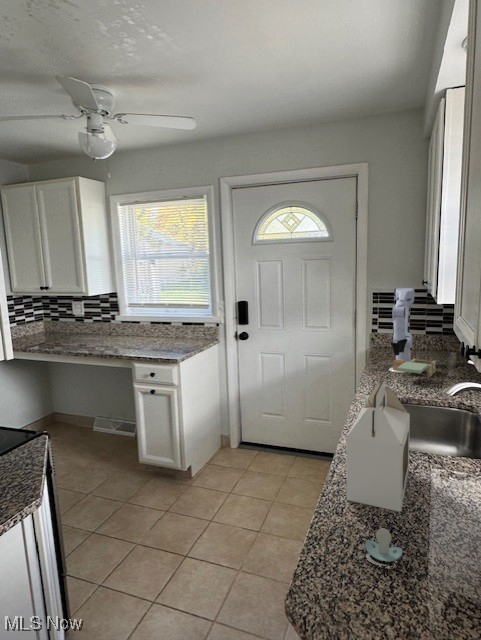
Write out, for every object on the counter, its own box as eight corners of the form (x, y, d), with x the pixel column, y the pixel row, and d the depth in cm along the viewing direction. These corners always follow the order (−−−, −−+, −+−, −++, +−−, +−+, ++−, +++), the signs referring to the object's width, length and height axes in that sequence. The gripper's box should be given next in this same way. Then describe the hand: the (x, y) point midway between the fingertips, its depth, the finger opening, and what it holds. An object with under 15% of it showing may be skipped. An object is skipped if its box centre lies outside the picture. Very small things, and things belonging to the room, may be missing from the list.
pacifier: (399, 576, 80) (403, 555, 86) (400, 548, 79) (403, 528, 85) (361, 564, 84) (367, 545, 89) (361, 537, 83) (367, 519, 88)
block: (396, 367, 226) (396, 359, 225) (405, 369, 223) (405, 360, 222) (392, 370, 222) (393, 361, 221) (402, 371, 219) (402, 362, 218)
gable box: (362, 462, 125) (362, 373, 121) (408, 470, 119) (410, 377, 115) (346, 500, 106) (345, 396, 102) (400, 513, 100) (402, 402, 96)
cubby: (414, 369, 224) (414, 358, 223) (435, 371, 217) (436, 360, 217) (406, 374, 214) (406, 363, 213) (429, 377, 207) (429, 366, 206)
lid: (405, 364, 212) (405, 361, 212) (428, 366, 205) (428, 364, 205) (397, 370, 201) (397, 367, 201) (420, 373, 194) (420, 370, 194)
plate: (392, 367, 230) (392, 366, 229) (411, 369, 223) (411, 368, 223) (386, 371, 222) (386, 370, 222) (405, 374, 216) (405, 372, 215)
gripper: (402, 331, 211) (402, 357, 213) (411, 327, 222) (410, 351, 224) (389, 330, 216) (388, 355, 218) (397, 326, 227) (397, 350, 229)
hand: (399, 353), depth 221 cm, fingers open, 7 cm apart
